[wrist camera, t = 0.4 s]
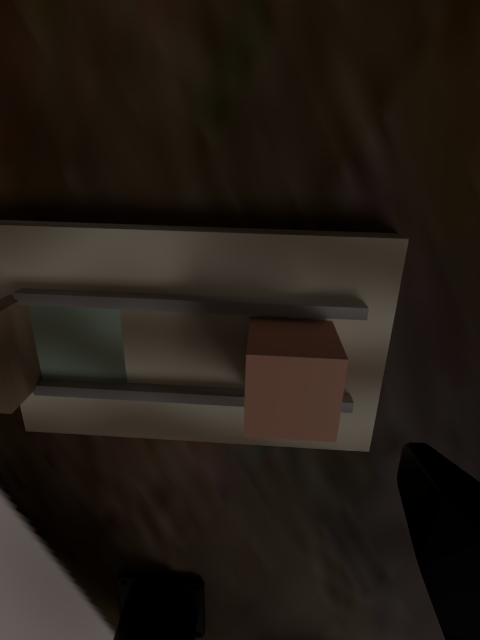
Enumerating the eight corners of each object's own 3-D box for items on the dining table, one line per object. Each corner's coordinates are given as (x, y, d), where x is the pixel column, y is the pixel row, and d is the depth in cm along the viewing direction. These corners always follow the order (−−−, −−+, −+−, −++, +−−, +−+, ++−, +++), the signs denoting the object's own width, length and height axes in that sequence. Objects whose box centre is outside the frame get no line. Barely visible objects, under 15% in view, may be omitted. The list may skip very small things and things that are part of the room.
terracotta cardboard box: (323, 391, 20) (336, 442, 17) (247, 387, 21) (243, 436, 17) (332, 320, 19) (348, 359, 15) (249, 317, 19) (246, 354, 15)
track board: (362, 434, 23) (383, 493, 19) (39, 415, 24) (-7, 468, 20) (398, 233, 19) (435, 253, 15) (-1, 219, 20) (-72, 235, 16)
